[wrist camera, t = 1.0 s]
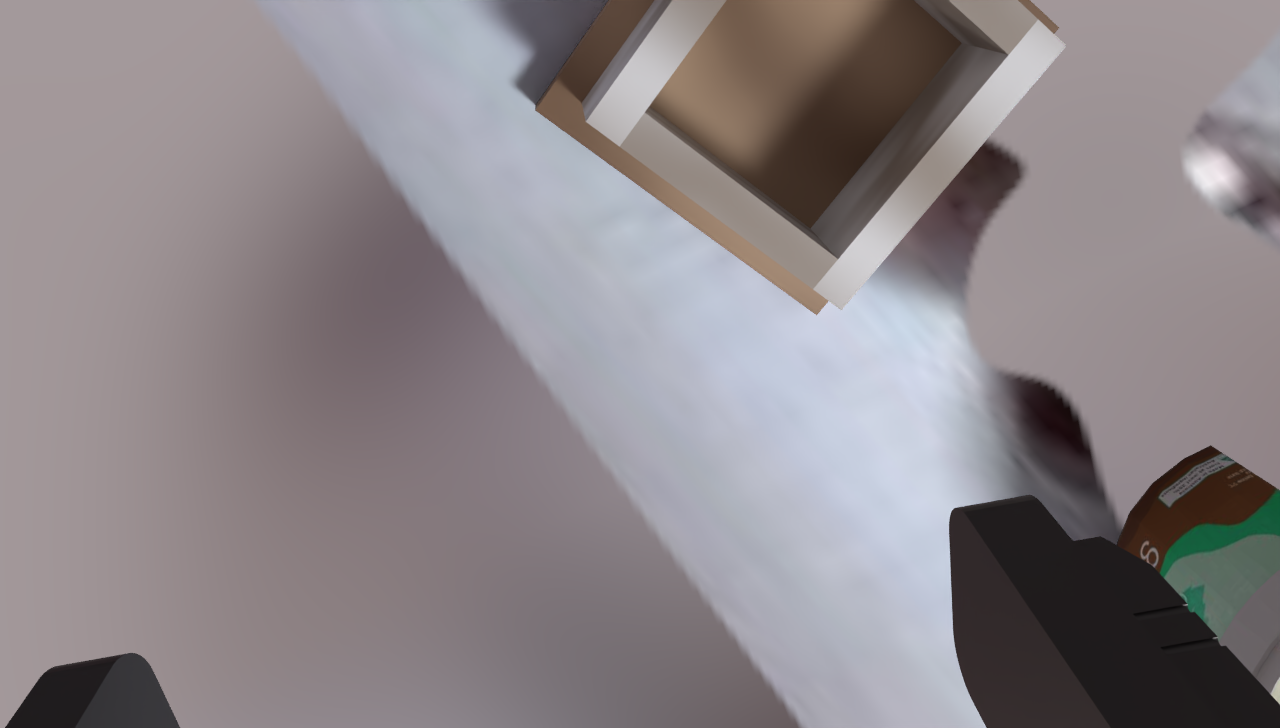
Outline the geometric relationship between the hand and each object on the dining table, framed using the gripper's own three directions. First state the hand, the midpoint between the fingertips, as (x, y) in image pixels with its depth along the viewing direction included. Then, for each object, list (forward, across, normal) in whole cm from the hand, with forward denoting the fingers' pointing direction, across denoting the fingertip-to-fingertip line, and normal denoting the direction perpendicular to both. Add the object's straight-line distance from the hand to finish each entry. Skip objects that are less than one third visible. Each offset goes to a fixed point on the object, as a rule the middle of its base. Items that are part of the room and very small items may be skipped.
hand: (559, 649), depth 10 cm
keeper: (+25, -8, -1) cm, 26 cm away
